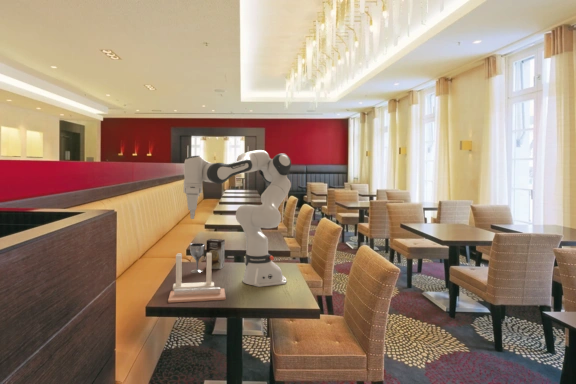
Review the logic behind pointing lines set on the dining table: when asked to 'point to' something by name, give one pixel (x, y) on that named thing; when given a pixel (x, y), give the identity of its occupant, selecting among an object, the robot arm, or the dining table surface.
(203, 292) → the aluminium rail
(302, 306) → the dining table surface
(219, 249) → the coffee box
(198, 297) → the terracotta board
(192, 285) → the cradle stand
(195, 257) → the wine glass
